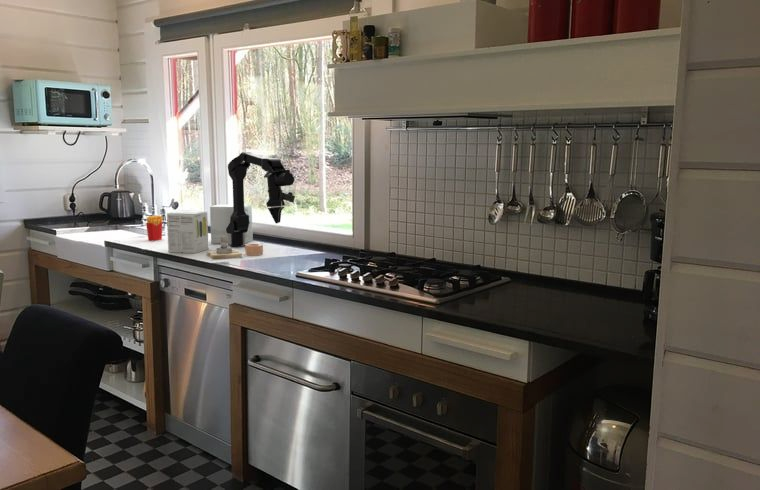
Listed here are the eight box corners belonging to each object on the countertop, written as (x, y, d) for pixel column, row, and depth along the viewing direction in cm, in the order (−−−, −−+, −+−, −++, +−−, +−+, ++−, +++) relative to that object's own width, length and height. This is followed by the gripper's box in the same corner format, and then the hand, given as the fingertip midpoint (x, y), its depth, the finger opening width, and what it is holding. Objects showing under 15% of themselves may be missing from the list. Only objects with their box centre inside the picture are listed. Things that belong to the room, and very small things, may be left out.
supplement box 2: (253, 240, 319) (252, 204, 316) (245, 244, 306) (244, 206, 303) (219, 239, 321) (218, 203, 318) (210, 243, 307) (209, 206, 305)
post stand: (207, 254, 276) (206, 235, 274) (234, 252, 281) (234, 233, 280) (213, 259, 265) (212, 239, 264) (241, 257, 270) (241, 237, 269)
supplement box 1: (195, 253, 279) (193, 213, 276) (167, 252, 281) (166, 212, 279) (209, 248, 292) (208, 210, 289) (182, 247, 294) (181, 209, 292)
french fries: (150, 241, 313) (149, 216, 312) (145, 240, 316) (144, 216, 314) (165, 239, 320) (164, 215, 318) (160, 238, 322) (159, 214, 321)
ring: (244, 253, 280) (243, 244, 280) (259, 252, 283) (259, 243, 283) (248, 255, 274) (248, 246, 273) (264, 254, 277) (264, 245, 277)
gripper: (291, 185, 269) (294, 222, 270) (294, 186, 287) (297, 220, 289) (264, 187, 268) (268, 224, 269) (269, 188, 287) (273, 222, 288)
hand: (277, 223), depth 279 cm, fingers open, 9 cm apart
